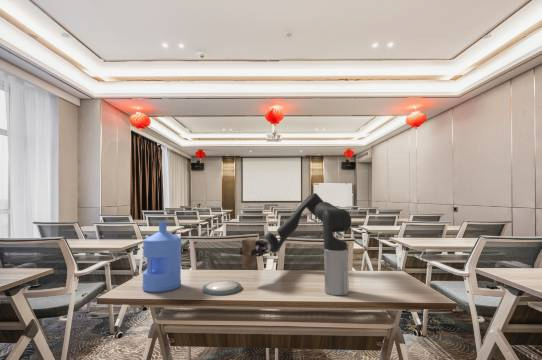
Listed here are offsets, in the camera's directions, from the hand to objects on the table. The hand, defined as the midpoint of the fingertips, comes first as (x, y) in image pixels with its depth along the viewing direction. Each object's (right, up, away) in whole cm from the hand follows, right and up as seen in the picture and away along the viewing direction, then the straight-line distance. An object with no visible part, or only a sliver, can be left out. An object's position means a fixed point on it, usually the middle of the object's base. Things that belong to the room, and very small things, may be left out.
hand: (246, 253), depth 130 cm
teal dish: (-10, -14, -5) cm, 18 cm away
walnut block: (+1, -7, +2) cm, 7 cm away
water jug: (-36, -15, -2) cm, 39 cm away
